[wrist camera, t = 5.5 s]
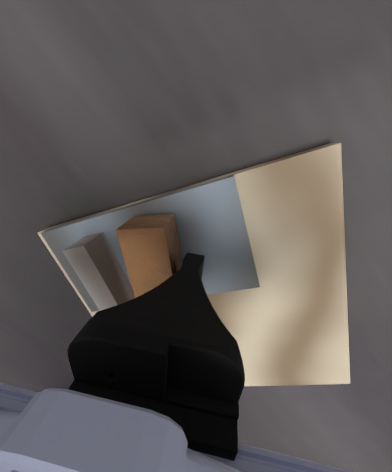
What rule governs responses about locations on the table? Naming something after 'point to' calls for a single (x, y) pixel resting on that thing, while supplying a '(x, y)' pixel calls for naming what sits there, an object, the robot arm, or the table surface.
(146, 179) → the table surface
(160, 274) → the bar
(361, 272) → the table surface
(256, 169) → the door frame board
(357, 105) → the table surface
